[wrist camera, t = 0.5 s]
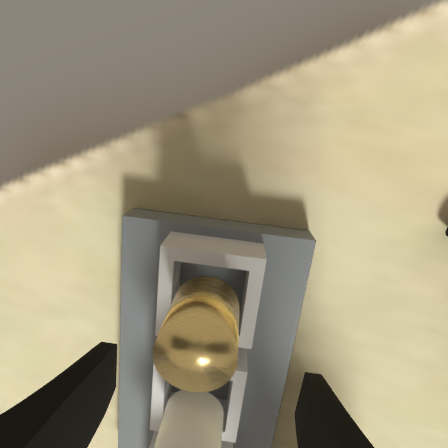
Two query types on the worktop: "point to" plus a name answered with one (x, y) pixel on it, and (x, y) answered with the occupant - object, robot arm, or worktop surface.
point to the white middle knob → (191, 421)
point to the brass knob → (199, 336)
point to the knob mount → (248, 316)
